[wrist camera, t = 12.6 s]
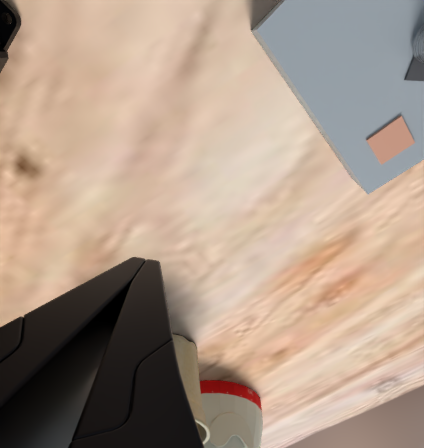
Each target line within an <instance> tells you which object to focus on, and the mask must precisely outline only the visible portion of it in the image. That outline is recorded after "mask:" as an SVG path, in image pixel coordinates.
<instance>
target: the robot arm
mask: <svg viewBox="0 0 424 448" xmlns="http://www.w3.org/2000/svg"><path fill="white" fill-rule="evenodd" d="M7 14H9V15H10V16H11V19H12V22H11V24H10V23H9V22H8V21H7V18H6V15H7ZM20 26H21V19H20V17H19V15H18V13H17V12H16V11H15V10H14V9H13V8H12V7H11V6H10V5H9V4H8V3H7V2H6V1H5V0H0V72H1V71H2V69H3V67H4V65H5V64H6V62H7V60H8V52H7V50H8V48H9V46H10V45H11V43H12V41H13V39H14V37H15V36H16V34H17V32H18V30H19V28H20ZM0 448H205V447H204V445H203V442H202V439H201V436H200V433H199V430H198V427H197V424H196V421H195V418H194V415H193V412H192V409H191V406H190V403H189V400H188V397H187V394H186V390H185V387H184V384H183V380H182V377H181V373H180V369H179V364H178V360H177V355H176V349H175V344H174V341H173V334H172V329H171V323H170V317H169V311H168V306H167V300H166V294H165V289H164V283H163V277H162V271H161V266H160V262H159V261H156V260H150V259H148V260H145V259H144V258H138V257H132V258H130V259H128V260H126V261H124V262H122V263H121V264H119V265H117V266H115V267H113V268H111V269H109V270H108V271H106V272H104V273H102V274H100V275H98V276H96V277H94V278H93V279H91V280H89V281H87V282H85V283H83V284H81V285H79V286H78V287H76V288H74V289H72V290H70V291H68V292H66V293H65V294H63V295H61V296H59V297H57V298H55V299H53V300H51V301H50V302H48V303H46V304H44V305H42V306H40V307H38V308H37V309H35V310H33V311H31V312H29V313H27V314H25V315H24V318H23V317H19V318H17V319H15V320H13V321H11V322H9V323H7V324H6V325H4V326H2V327H0Z"/></svg>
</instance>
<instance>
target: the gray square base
mask: <svg viewBox="0 0 424 448" xmlns="http://www.w3.org/2000/svg"><path fill="white" fill-rule="evenodd" d="M423 24H424V0H281V1H280V2H279V3H278V4H277V5H276V6H275V7H274V8H273V9H272V10H271V11H270V12H269V13H268V14H267V15H266V16H265V17H264V18H263V19H262V20H261V22H260V23H259V24H258V25H257V26H256V27H255V28H254V29H253V30H252V31H251V32H252V33H253V35H254V36H255V38H256V39H257V41H258V42H259V43H260V45H261V46H262V48H263V49H264V51H265V52H266V54H267V55H268V57H269V58H270V60H271V61H272V62H273V64H274V65H275V67H276V68H277V70H278V71H279V73H280V74H281V76H282V77H283V78H284V80H285V81H286V83H287V84H288V86H289V87H290V89H291V90H292V92H293V93H294V95H295V96H296V97H297V99H298V100H299V102H300V103H301V105H302V106H303V108H304V109H305V111H306V112H307V113H308V115H309V116H310V118H311V119H312V121H313V122H314V124H315V125H316V127H317V128H318V130H319V131H320V132H321V134H322V135H323V137H324V138H325V140H326V141H327V143H328V144H329V146H330V147H331V148H332V150H333V151H334V153H335V154H336V156H337V157H338V159H339V160H340V162H341V163H342V164H343V166H344V167H345V169H346V170H347V172H348V173H349V175H350V176H351V178H352V179H353V180H354V181H355V182H356V183H357V184H358V185H359V186H360V187H361V188H362V189H363V190H364V191H365V192H366V193H367V194H369V193H371V192H373V191H374V190H376V189H377V188H379V187H381V186H382V185H384V184H385V183H387V182H389V181H390V180H392V179H393V178H395V177H397V176H398V175H400V174H401V173H403V172H405V171H406V170H408V169H409V168H411V167H413V166H414V165H416V164H417V163H419V162H421V161H422V160H424V63H421V62H419V61H418V60H417V59H416V58H415V57H414V55H413V41H414V38H415V36H416V34H417V32H418V30H419V29H420V27H421V26H422V25H423Z"/></svg>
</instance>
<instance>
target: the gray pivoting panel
mask: <svg viewBox="0 0 424 448" xmlns="http://www.w3.org/2000/svg"><path fill="white" fill-rule="evenodd" d="M413 55H414V57H415V58H416V59H417V60H418V61H419V62H421V63H424V24H423V25H422V26H421V27H420V29H419V30H418V32H417V34H416V36H415V38H414V41H413Z"/></svg>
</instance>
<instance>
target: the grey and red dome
mask: <svg viewBox="0 0 424 448" xmlns="http://www.w3.org/2000/svg"><path fill="white" fill-rule="evenodd" d="M200 390H201V400H202V409H203V410H204V412H205V418H206V424H207V425H208V426H209V429H210V438H209V440H208V441H207V442H206V443H205V444H203V445H204V447H205V448H260V445H261V437H262V425H263V420H262V409H261V402H260V397H259V396H258V395H257V394H256V392H255V391H253V390H251V389H250V388H248V387H246V386H243V385H240V384H237V383H234V382H228V381H221V380H205V381H200Z"/></svg>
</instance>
